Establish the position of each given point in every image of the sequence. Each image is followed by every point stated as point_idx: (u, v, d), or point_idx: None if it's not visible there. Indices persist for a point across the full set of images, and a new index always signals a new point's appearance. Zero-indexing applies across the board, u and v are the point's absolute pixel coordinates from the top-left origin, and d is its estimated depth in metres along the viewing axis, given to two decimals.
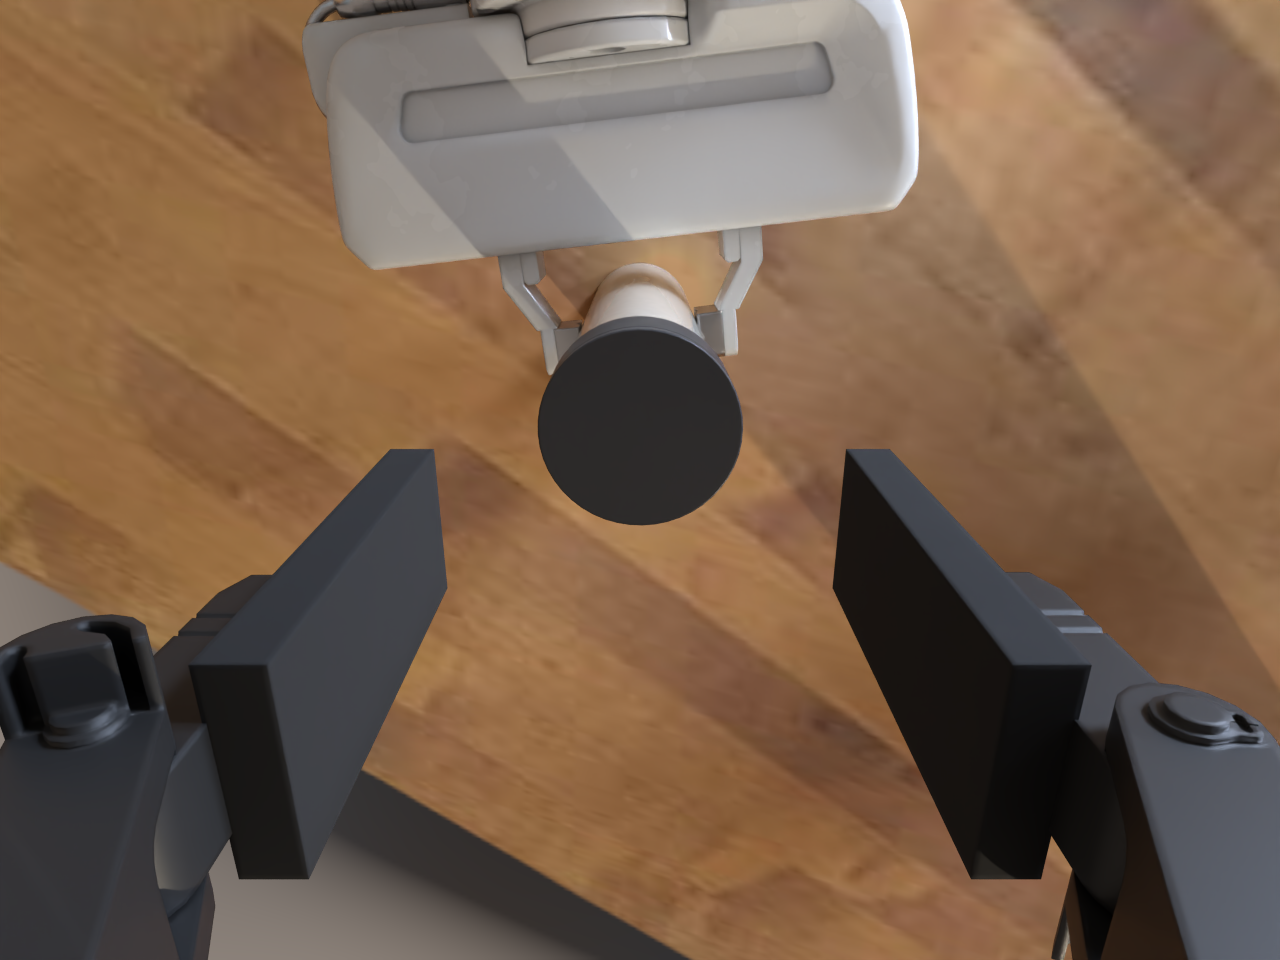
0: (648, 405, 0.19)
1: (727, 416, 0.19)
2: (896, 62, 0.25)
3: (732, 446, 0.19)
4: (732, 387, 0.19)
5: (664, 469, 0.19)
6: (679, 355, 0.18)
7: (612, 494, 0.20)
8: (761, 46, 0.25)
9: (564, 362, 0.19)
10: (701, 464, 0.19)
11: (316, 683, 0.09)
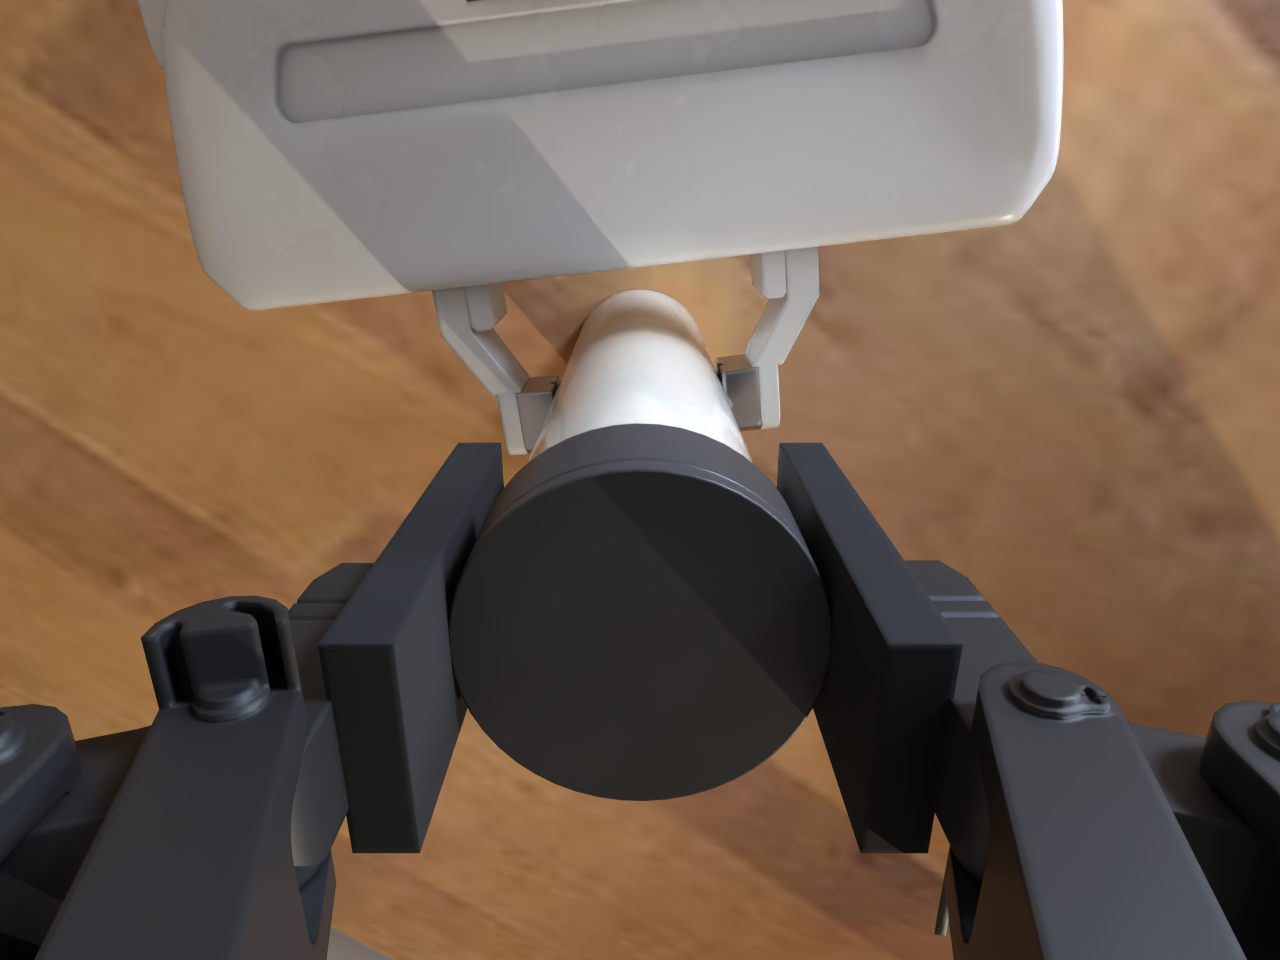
0: (655, 604, 0.10)
1: (804, 623, 0.10)
2: None
3: (812, 675, 0.10)
4: (816, 574, 0.10)
5: (685, 712, 0.11)
6: (716, 517, 0.10)
7: (589, 752, 0.11)
8: None
9: (494, 529, 0.10)
10: (753, 704, 0.10)
11: (424, 664, 0.09)
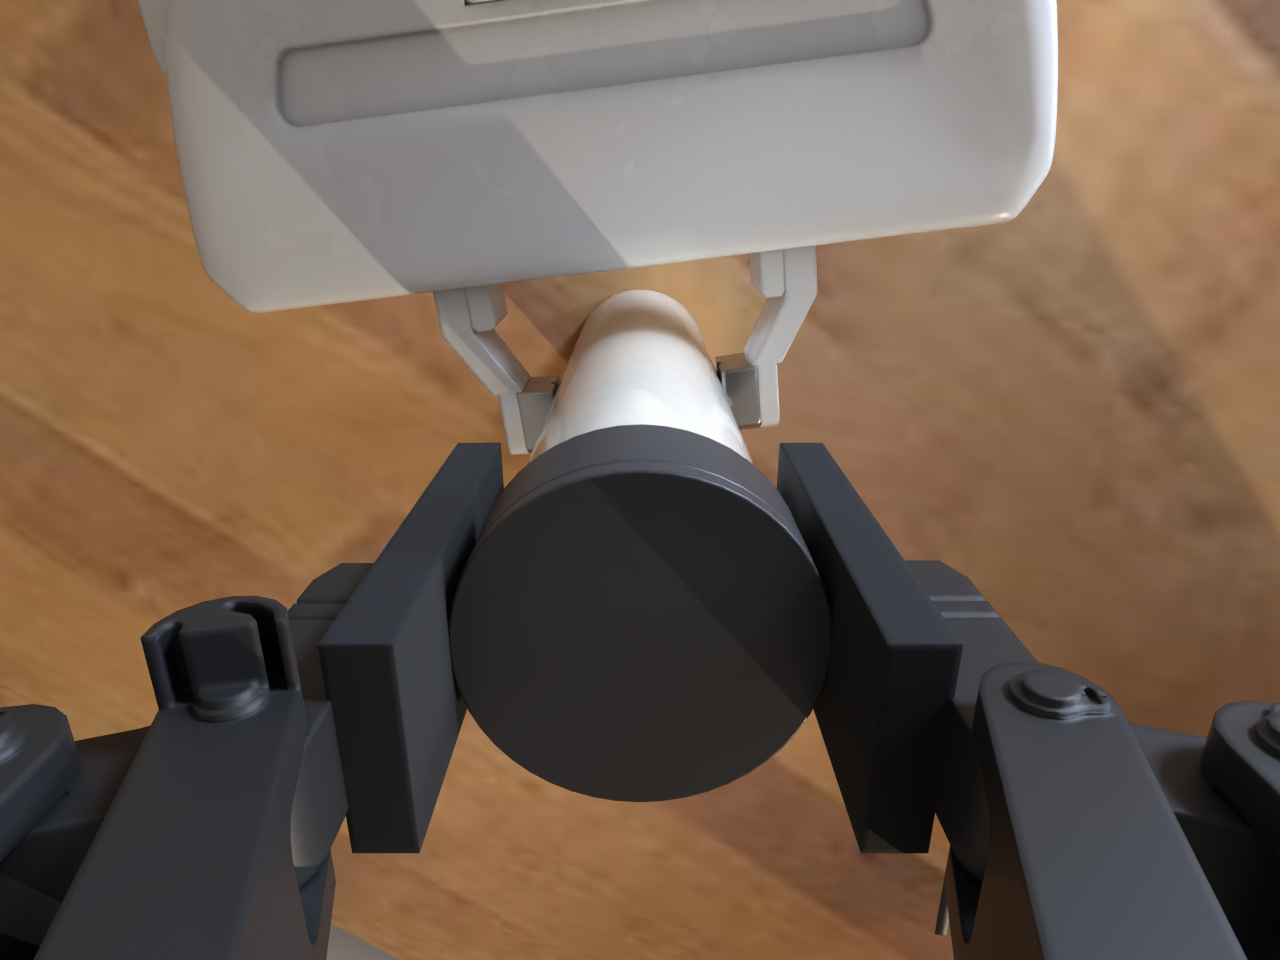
0: (588, 660, 0.10)
1: (530, 533, 0.10)
2: None
3: (578, 498, 0.09)
4: (476, 553, 0.10)
5: (685, 584, 0.10)
6: (479, 656, 0.10)
7: (777, 640, 0.10)
8: None
9: (593, 796, 0.11)
10: (642, 529, 0.10)
11: (424, 665, 0.09)
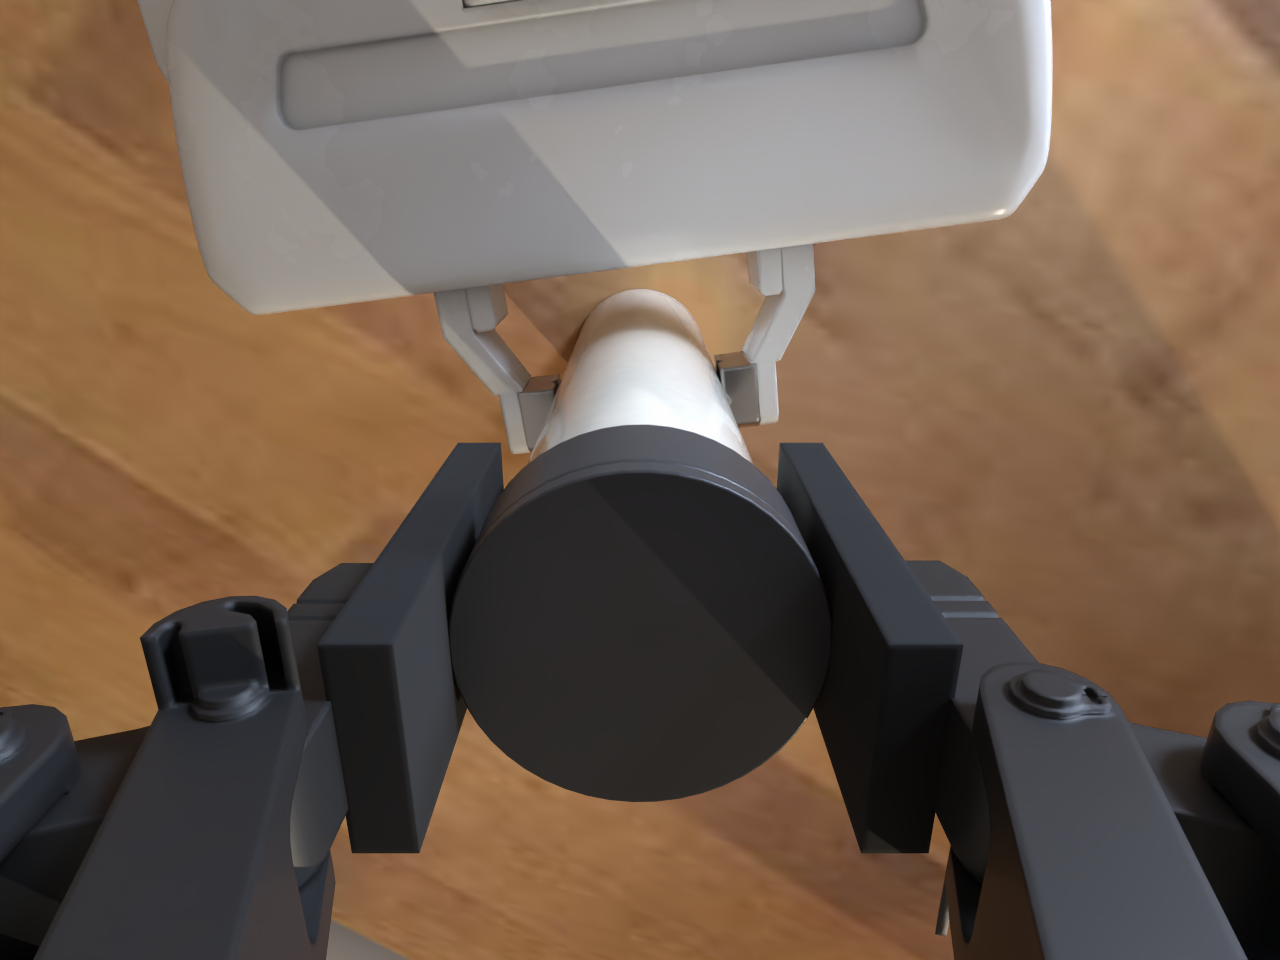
0: (673, 685, 0.10)
1: (579, 773, 0.11)
2: None
3: (526, 757, 0.11)
4: None
5: (552, 648, 0.10)
6: (716, 763, 0.11)
7: (561, 547, 0.10)
8: None
9: (829, 614, 0.10)
10: (524, 702, 0.10)
11: (424, 664, 0.09)
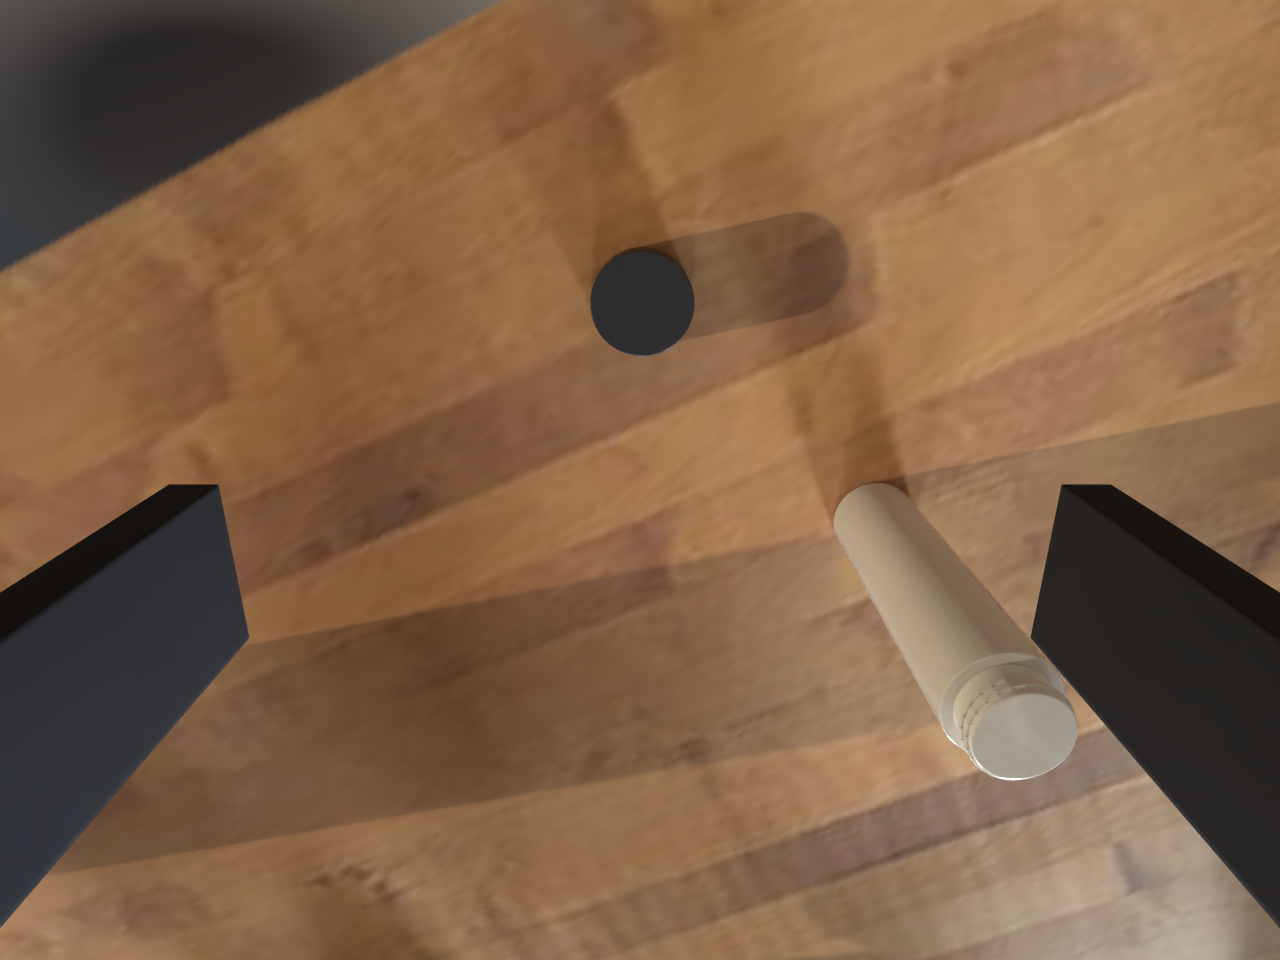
0: (647, 291, 0.38)
1: (686, 300, 0.38)
2: None
3: (687, 316, 0.38)
4: (690, 285, 0.37)
5: (652, 326, 0.38)
6: (665, 266, 0.37)
7: (624, 337, 0.38)
8: None
9: (608, 264, 0.37)
10: (671, 325, 0.38)
11: None
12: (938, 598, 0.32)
